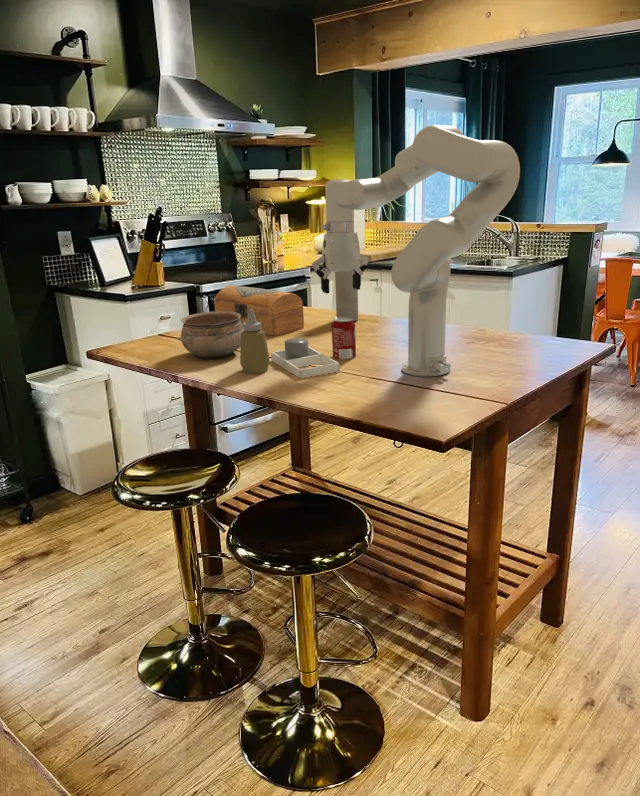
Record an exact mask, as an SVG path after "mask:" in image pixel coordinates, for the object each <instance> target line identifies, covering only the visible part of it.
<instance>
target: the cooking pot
mask: <svg viewBox="0 0 640 796" xmlns="http://www.w3.org/2000/svg"><path fill="white" fill-rule="evenodd" d="M240 317H241V315H240V314H238V313H235V312H227V311H215V310H214V311H206V312H205V311H204V312H198V313H193V314H190V315H187V316H184V317H182V318H181V323H183V325H182V327H181V332H180V337H177V341H179V342H181V343H182V346H183V347H184V349H186V351H188V352H189V353H190V354H192V355H194V356H196V357H199V358H202V359H206V360H207V359H209V360H211V359H212V360H215V359H221V358H225V357H229V356H231V355H232V354H233V353H234V352H236V351H237V350H239V348H240V347H241V333H242V332H243V331H244V326H243V324H244V323H245V321H240V320H239V318H240ZM242 323H243V324H242Z"/></svg>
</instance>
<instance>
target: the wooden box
mask: <svg viewBox="0 0 640 796" xmlns="http://www.w3.org/2000/svg"><path fill="white" fill-rule="evenodd" d="M213 302H214V312H215V311H227V312H235V313H238V314H240V315H241V317H240V318H239V320H240V321H245V323H247V320H248V312H249V310H253V311H254V314H255V318H256V321H257V322H260V323H261V329H260V330H263V331H264V332H265V336H270V337H278V336H280V335H285V334H289V333H294V332H296V331H299V330H302V329H305V327H304V326H305V320H304V305H303V303H304V302H303V299H302V298H301V297H300V296H299V295H298V294H294V293H293V292H292V293H291V292H284V291H279V290H273V289H267V288H266V289H265V288H260V287H258V288H257V287H250V286H240V285H227V286H224V287H223V288H221V289H220V290H219V291H218V292H217V294H216V295H215V297H214V299H213ZM242 324H243V323H242ZM244 331H245V330H244Z"/></svg>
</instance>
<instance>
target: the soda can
mask: <svg viewBox="0 0 640 796" xmlns="http://www.w3.org/2000/svg"><path fill="white" fill-rule="evenodd" d="M356 339H357V337H356V323H355V321H353V318H352V317H347V316H342V317H334V318H333V321H332V324H331V344H332V345H331V347H332V349H331V350H332V351H331V352H332V359H334V358H335V360H337V361H338V360H339V361H346V360H347V361H348V360H353V359H355V358H356V357H357V349H356V348H357V345H356V343H357V341H356Z"/></svg>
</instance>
